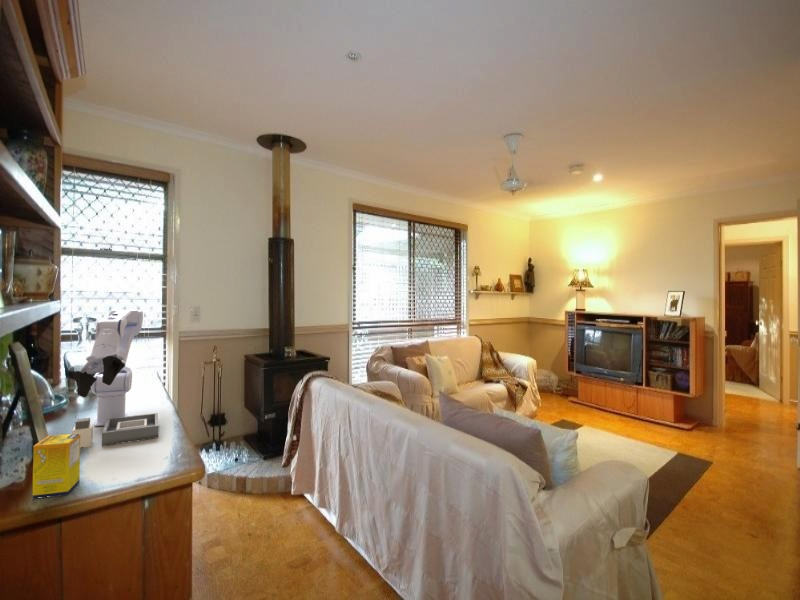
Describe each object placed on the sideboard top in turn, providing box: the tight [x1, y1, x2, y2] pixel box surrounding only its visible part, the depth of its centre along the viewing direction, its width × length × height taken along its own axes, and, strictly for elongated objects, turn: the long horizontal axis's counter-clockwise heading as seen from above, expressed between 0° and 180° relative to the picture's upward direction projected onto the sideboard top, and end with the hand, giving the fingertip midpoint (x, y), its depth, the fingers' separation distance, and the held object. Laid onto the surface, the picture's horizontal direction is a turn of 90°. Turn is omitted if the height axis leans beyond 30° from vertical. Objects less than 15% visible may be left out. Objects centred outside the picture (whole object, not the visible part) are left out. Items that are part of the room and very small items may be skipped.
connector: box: [71, 417, 94, 449], centre depth 105 cm, size 4×4×7 cm
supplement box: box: [32, 433, 81, 499], centre depth 81 cm, size 6×6×11 cm
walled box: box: [101, 412, 160, 447], centre depth 115 cm, size 14×13×4 cm
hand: (94, 389), depth 105 cm, fingers open, 7 cm apart
